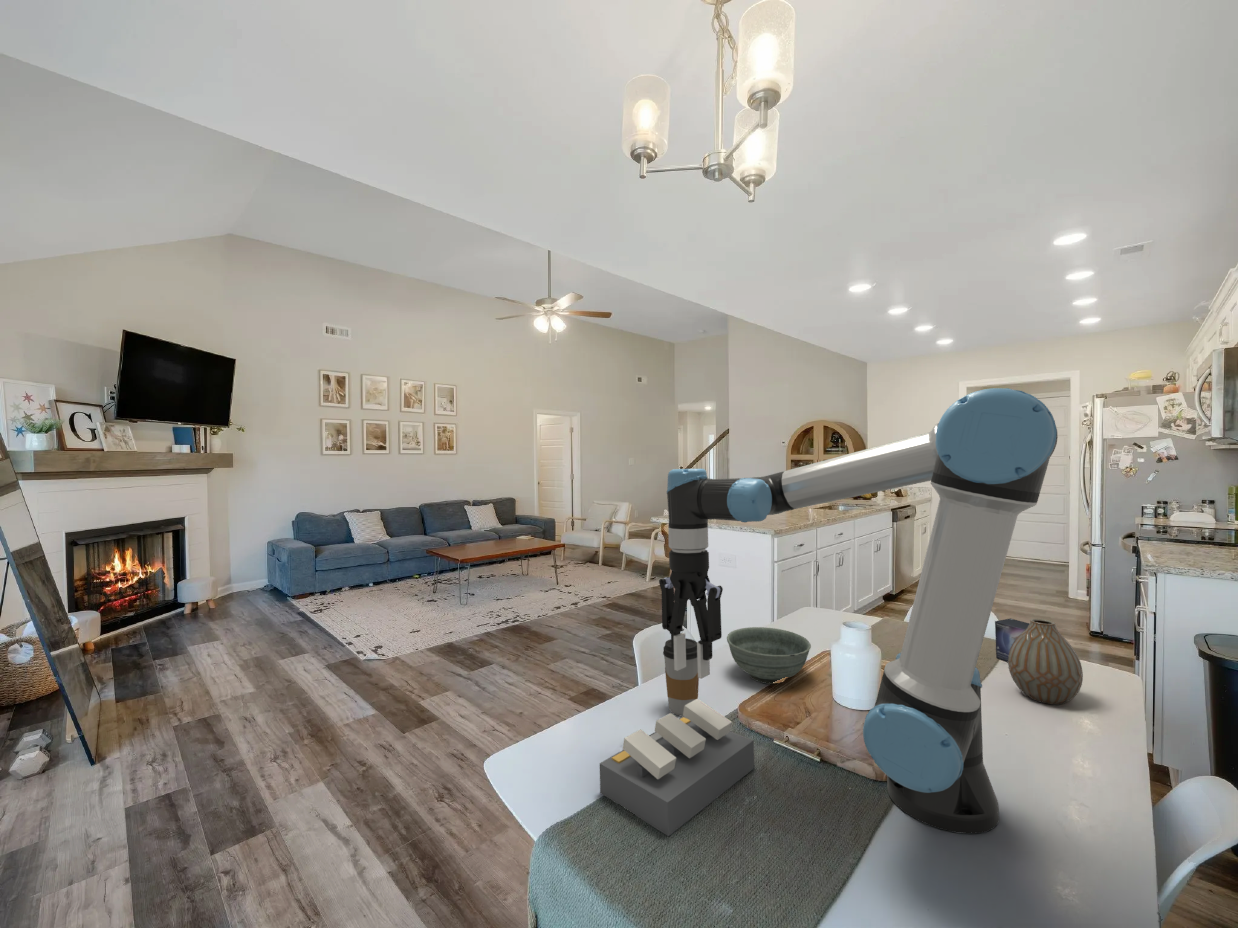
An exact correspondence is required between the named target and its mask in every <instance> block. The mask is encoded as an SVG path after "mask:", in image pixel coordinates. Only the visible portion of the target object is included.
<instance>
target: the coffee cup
mask: <svg viewBox="0 0 1238 928" xmlns="http://www.w3.org/2000/svg"><path fill="white" fill-rule="evenodd" d="M685 640H686V667H685V668H683V669H680V670H678V671H676V670H674V651H673V650H672V648H671V638H670V639H668V640H666V641H665V642H664V646H663V653H662V655H663V656H664V672H665V673H664V675H665V683H666V694H667V700H668V701H667V702H668V709H669V711H670V713H672V714H673V715H674V716H679V717H683V711H684V706H685V705H686V704H688V703H690V702H692V701H694V700H696V699H699V687H700V685H699V684H700V683H699V682H700V678H698V660H697V642H698V641H696V640H695V639H692V638H686V637H685Z"/></svg>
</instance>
